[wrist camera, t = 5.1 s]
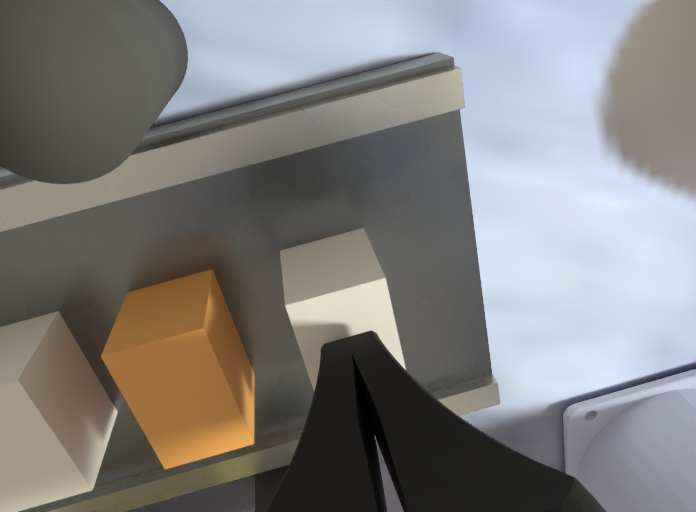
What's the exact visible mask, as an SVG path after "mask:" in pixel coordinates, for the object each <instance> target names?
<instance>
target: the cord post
mask: <svg viewBox="0 0 696 512" xmlns="http://www.w3.org/2000/svg"><path fill="white" fill-rule="evenodd" d="M187 62H188V51H187V45H186V41H185V37H184V34H183V32H182V29H181V27H180V25H179V23H178V22H177V20H176V18H175V17H174V16H173V14H172V13H171V12H170V11H169V10H168V8H167V7H166V6H165V5H164V4H163V3H161V2H160V1H159V0H0V166H1V167H3V168H5V169H7V170H9V171H11V172H12V173H15V174H17V175H20V176H22V177H25V178H28V179H32V180H35V181H39V182H45V183H51V184H75V183H82V182H87V181H91V180H94V179H97V178H99V177H102V176H104V175H106V174H108V173H110V172H111V171H113V170H114V169H116V168H117V167H119V166H120V165H121V164H122V163H123V162H124V161H125V160H126V159H127V158H128V157H129V156H130V155H131V153H132V152H133V151H134V149H135V148H136V147H137V145H138V144H139V142H140V141H141V140H142V138H143V137H144V136H145V134H146V133H147V131H148V130H149V129H150V127H151V126H152V124H153V123H154V122H155V120H156V119H157V117H158V116H159V115H160V113H161V112H162V111H163V109H164V108H165V106H166V105H167V104H168V102H169V101H170V99H171V98H172V97H173V95H174V94H175V92H176V91H177V90H178V88H179V87H180V85H181V83H182V81H183V79H184V76H185V73H186V69H187Z"/></svg>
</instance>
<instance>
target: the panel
mask: <svg viewBox="0 0 696 512" xmlns="http://www.w3.org/2000/svg"><path fill="white" fill-rule="evenodd" d="M462 108H465V100H464V92H463V83H462V74H461V68H459V67H457V66H454V60H453V57H450V56H448V55H445V54H442V53H440V52H438V53H434V54H431V55H427V56H423V57H419V58H415V59H412V60H408V61H404V62H400V63H396V64H393V65H389V66H385V67H381V68H377V69H374V70H370V71H366V72H362V73H358V74H355V75H351V76H347V77H343V78H340V79H336V80H332V81H328V82H324V83H321V84H317V85H313V86H309V87H305V88H302V89H298V90H294V91H290V92H286V93H283V94H279V95H275V96H271V97H267V98H264V99H260V100H256V101H252V102H248V103H245V104H241V105H237V106H233V107H229V108H226V109H222V110H218V111H214V112H210V113H207V114H203V115H199V116H195V117H191V118H188V119H184V120H180V121H176V122H172V123H169V124H165V125H161V126H157V127H153V128H150V129H149V130H148V131H147V133H146V134H145V136H144V137H143V138H142V140H141V141H140V142H139V144H138V145H137V147H136V148H135V149H134V151H133V152H132V153H131V155H130V156H129V157H128V158H127V159H126V160H125V161H124V162H123V163H122V164H121V165H120V166H119V167H117V168H116V169H114V170H113V171H111V172H110V173H108V174H106V175H104V176H102V177H99V178H97V179H94V180H91V181H87V182H82V183H75V184H51V183H45V182H39V181H35V180H32V179H28V178H25V177H22V176H20V175H17V174H15V173H12V172H11V171H9V170H7V169H5V168H3V167H2V168H0V327H2V326H6V325H10V324H13V323H17V322H21V321H24V320H28V319H32V318H35V317H39V316H43V315H46V314H50V313H54V312H57V311H59V313H60V315H61V316H62V318H63V320H64V321H65V323H66V325H67V326H68V328H69V330H70V332H71V333H72V335H73V337H74V338H75V340H76V342H77V344H78V345H79V347H80V349H81V350H82V352H83V354H84V355H85V357H86V359H87V361H88V362H89V364H90V366H91V367H92V369H93V371H94V372H95V374H96V376H97V378H98V379H99V381H100V383H101V384H102V386H103V388H104V390H105V391H106V393H107V395H108V396H109V398H110V400H111V401H112V403H113V405H114V407H115V408H116V410H117V412H118V413H117V416H116V419H115V422H114V425H113V428H112V432H111V435H110V438H109V441H108V444H107V447H106V450H105V454H104V457H103V460H102V463H101V466H100V469H99V472H98V476H97V479H96V482H95V485H94V488H93V490H92V491H88V492H85V493H81V494H78V495H74V496H71V497H67V498H64V499H60V500H57V501H53V502H50V503H46V504H43V505H39V506H36V507H32V508H29V509H25V510H22V511H18V512H126V511H129V510H133V509H136V508H140V507H143V506H147V505H150V504H154V503H157V502H161V501H164V500H168V499H171V498H175V497H178V496H182V495H185V494H189V493H192V492H196V491H199V490H202V489H206V488H209V487H213V486H216V485H220V484H223V483H227V482H230V481H234V480H237V479H241V478H244V477H248V476H251V475H255V474H258V473H262V472H265V471H269V470H272V469H276V468H279V467H282V466H286V465H289V464H290V462H291V460H292V457H293V455H294V453H295V450H296V448H297V445H298V443H299V440H300V437H301V435H302V432H303V429H304V426H305V423H306V420H307V416H308V413H309V410H310V407H311V403H312V399H313V395H314V390H313V387H312V384H311V381H310V378H309V375H308V372H307V369H306V366H305V363H304V360H303V357H302V354H301V351H300V348H299V345H298V342H297V339H296V336H295V333H294V330H293V328H292V325H291V322H290V319H289V316H288V313H287V310H286V307H285V299H284V289H283V278H282V268H281V257H280V250H284V249H288V248H291V247H295V246H299V245H302V244H306V243H310V242H313V241H317V240H321V239H324V238H328V237H332V236H335V235H339V234H343V233H346V232H350V231H354V230H357V229H361V228H364V230H365V233H366V235H367V237H368V239H369V242H370V244H371V246H372V248H373V251H374V253H375V255H376V257H377V260H378V262H379V264H380V266H381V269H382V271H383V273H384V275H385V277H386V282H387V286H388V291H389V295H390V300H391V304H392V309H393V313H394V318H395V322H396V327H397V331H398V336H399V340H400V345H401V349H402V354H403V358H404V363H405V367H406V371H407V372H408V373H409V374H410V375H411V376H412V377H413V378H414V379H415V380H416V381H417V382H418V383H419V384H420V385H421V386H422V387H424V388H425V389H426V390H427V391H428V392H429V393H430V394H431V395H433V396H434V397H435V398H436V399H437V400H438V401H440V402H441V403H442V404H443V405H445V406H446V407H447V408H448V409H450V410H451V411H452V412H454V413H455V414H457V415H458V416H460V415H463V414H467V413H470V412H474V411H477V410H481V409H484V408H488V407H491V406H495V405H498V404H500V398H499V390H498V383H497V381H496V379H495V378H494V376H493V374H492V369H491V361H490V353H489V345H488V337H487V329H486V320H485V312H484V304H483V296H482V288H481V280H480V272H479V263H478V255H477V247H476V239H475V231H474V223H473V214H472V206H471V198H470V190H469V182H468V174H467V166H466V157H465V149H464V141H463V133H462V125H461V117H460V109H462ZM211 269H213V272H214V274H215V277H216V279H217V282H218V284H219V287H220V289H221V292H222V294H223V297H224V299H225V302H226V304H227V307H228V309H229V312H230V314H231V317H232V319H233V322H234V324H235V327H236V329H237V332H238V334H239V337H240V339H241V342H242V344H243V347H244V349H245V352H246V354H247V357H248V359H249V362H250V364H251V367H252V369H253V372H254V444H253V445H249V446H246V447H242V448H239V449H235V450H232V451H228V452H225V453H221V454H218V455H214V456H211V457H207V458H204V459H200V460H197V461H193V462H190V463H186V464H183V465H179V466H176V467H172V468H169V469H164V467H163V465H162V463H161V462H160V460H159V458H158V456H157V455H156V453H155V451H154V449H153V448H152V446H151V444H150V442H149V441H148V439H147V437H146V435H145V433H144V432H143V430H142V428H141V426H140V425H139V423H138V421H137V419H136V418H135V416H134V414H133V412H132V411H131V409H130V407H129V405H128V404H127V402H126V400H125V398H124V397H123V395H122V393H121V391H120V390H119V388H118V386H117V384H116V382H115V381H114V379H113V377H112V375H111V374H110V372H109V370H108V368H107V367H106V365H105V363H104V361H103V360H102V358H101V355H102V353H103V350H104V348H105V345H106V343H107V340H108V338H109V336H110V333H111V331H112V328H113V326H114V323H115V321H116V319H117V316H118V314H119V311H120V309H121V306H122V304H123V302H124V299H125V297H126V294H127V292H130V291H134V290H138V289H141V288H145V287H149V286H152V285H156V284H160V283H163V282H167V281H171V280H174V279H178V278H182V277H185V276H189V275H193V274H196V273H200V272H204V271H207V270H211ZM375 440H376V437H375Z"/></svg>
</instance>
